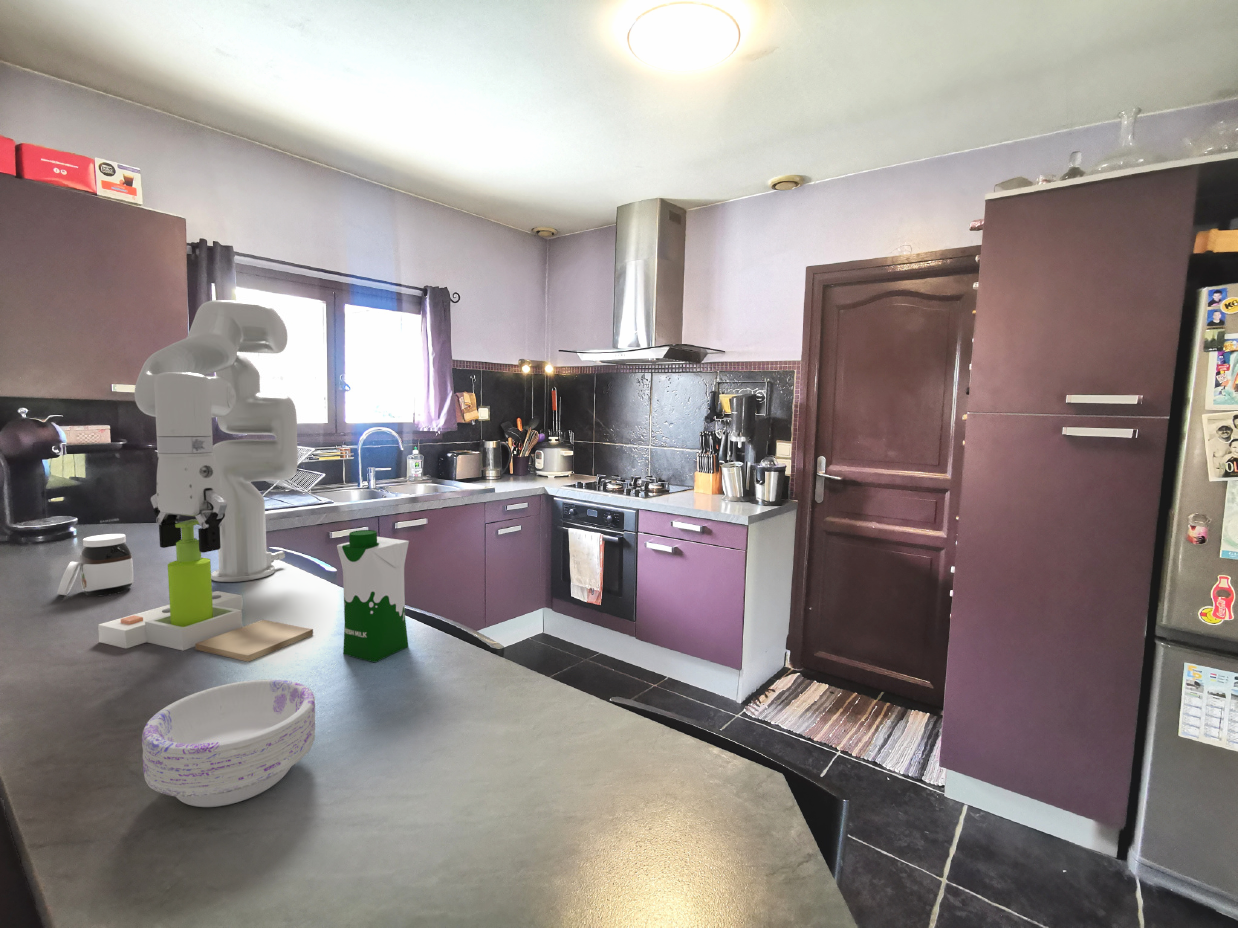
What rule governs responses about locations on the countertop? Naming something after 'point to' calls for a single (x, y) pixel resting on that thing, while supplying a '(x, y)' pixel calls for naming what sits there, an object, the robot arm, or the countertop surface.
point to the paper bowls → (228, 741)
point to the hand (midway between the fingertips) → (190, 548)
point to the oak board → (254, 640)
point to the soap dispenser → (189, 580)
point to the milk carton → (373, 595)
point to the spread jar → (101, 566)
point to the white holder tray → (160, 631)
